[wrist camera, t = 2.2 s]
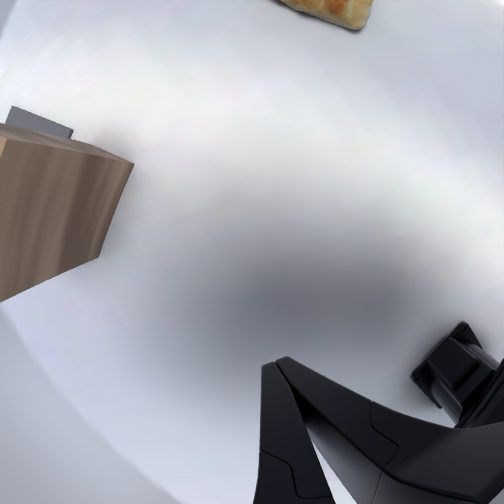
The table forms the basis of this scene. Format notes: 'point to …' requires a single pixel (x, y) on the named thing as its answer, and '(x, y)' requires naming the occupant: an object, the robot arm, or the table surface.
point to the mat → (36, 123)
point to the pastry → (335, 11)
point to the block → (52, 205)
